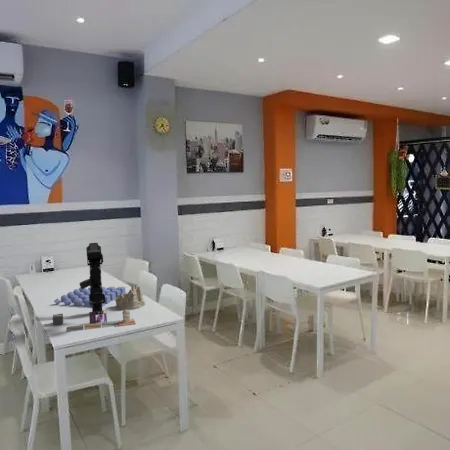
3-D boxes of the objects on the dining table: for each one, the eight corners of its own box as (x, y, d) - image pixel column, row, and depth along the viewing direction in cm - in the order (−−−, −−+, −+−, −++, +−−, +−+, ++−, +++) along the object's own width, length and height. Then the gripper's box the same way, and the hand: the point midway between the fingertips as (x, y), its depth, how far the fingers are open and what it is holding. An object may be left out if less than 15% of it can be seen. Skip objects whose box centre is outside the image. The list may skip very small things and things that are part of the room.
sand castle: (149, 303, 270) (146, 280, 268) (132, 312, 255) (129, 287, 254) (130, 302, 277) (127, 280, 276) (112, 310, 263) (109, 287, 261)
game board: (66, 327, 229) (66, 326, 229) (133, 319, 240) (133, 318, 239) (66, 332, 221) (65, 332, 221) (135, 324, 231) (135, 323, 231)
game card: (89, 312, 233) (106, 310, 236) (89, 312, 238) (105, 310, 241) (89, 324, 232) (106, 322, 234) (89, 325, 236) (106, 322, 239)
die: (53, 323, 236) (53, 314, 236) (63, 322, 238) (62, 313, 237) (53, 326, 231) (52, 317, 231) (62, 325, 233) (62, 315, 232)
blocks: (101, 308, 265) (100, 300, 264) (51, 306, 272) (51, 298, 272) (125, 293, 299) (125, 286, 298) (81, 292, 306) (80, 285, 306)
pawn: (121, 321, 236) (121, 308, 235) (130, 320, 237) (130, 307, 236) (122, 323, 231) (121, 311, 230) (131, 322, 233) (130, 310, 232)
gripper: (80, 272, 238) (81, 299, 240) (79, 279, 220) (81, 308, 222) (100, 270, 241) (102, 297, 243) (101, 277, 224) (103, 306, 225)
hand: (97, 302), depth 233 cm, fingers open, 9 cm apart
